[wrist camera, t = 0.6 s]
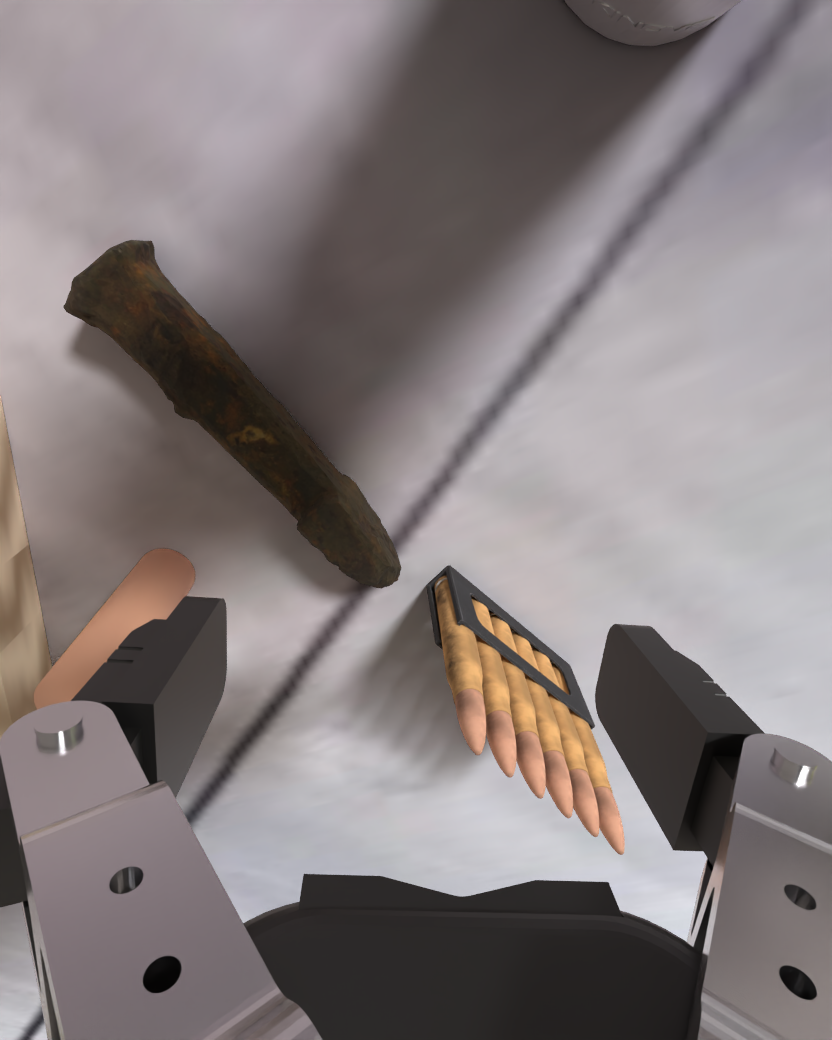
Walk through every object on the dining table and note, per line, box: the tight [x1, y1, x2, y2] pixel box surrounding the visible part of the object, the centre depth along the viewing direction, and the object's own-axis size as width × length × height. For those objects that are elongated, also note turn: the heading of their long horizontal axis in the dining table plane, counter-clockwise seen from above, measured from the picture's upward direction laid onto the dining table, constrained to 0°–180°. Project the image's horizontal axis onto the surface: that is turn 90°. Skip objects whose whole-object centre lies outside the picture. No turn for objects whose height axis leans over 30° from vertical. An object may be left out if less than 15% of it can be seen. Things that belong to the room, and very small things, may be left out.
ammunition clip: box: [427, 566, 625, 855], centre depth 28 cm, size 11×2×12 cm, turn 46°
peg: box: [34, 549, 195, 710], centre depth 27 cm, size 3×3×10 cm
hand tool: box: [64, 240, 401, 588], centre depth 26 cm, size 19×4×5 cm, turn 36°
